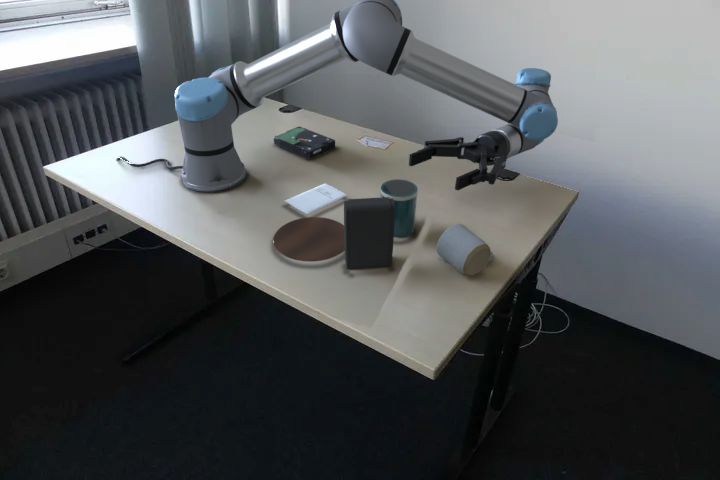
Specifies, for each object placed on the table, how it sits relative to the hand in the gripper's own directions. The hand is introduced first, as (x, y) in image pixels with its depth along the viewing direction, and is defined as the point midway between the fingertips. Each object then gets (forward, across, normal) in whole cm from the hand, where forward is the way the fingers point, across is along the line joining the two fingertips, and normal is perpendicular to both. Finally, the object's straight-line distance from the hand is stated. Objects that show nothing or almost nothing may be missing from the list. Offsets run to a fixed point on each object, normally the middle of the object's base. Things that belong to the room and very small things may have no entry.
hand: (432, 171), depth 109 cm
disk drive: (0, +48, -12) cm, 49 cm away
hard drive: (+16, +21, -12) cm, 29 cm away
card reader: (+22, -6, -12) cm, 26 cm away
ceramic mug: (+6, -16, -12) cm, 21 cm away
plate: (+26, +8, -12) cm, 29 cm away
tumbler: (+10, 0, -12) cm, 15 cm away
